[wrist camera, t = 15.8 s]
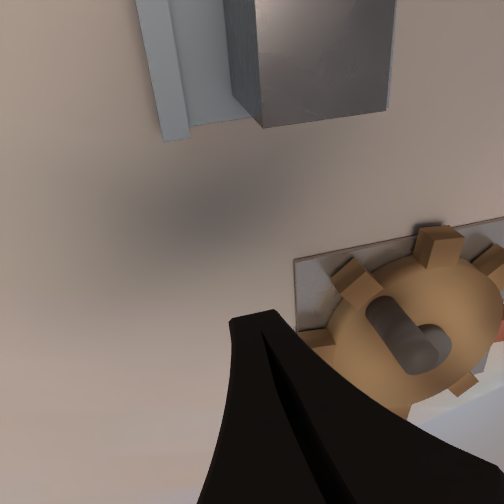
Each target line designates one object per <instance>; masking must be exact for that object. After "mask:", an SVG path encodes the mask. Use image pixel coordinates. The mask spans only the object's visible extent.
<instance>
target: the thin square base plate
mask: <svg viewBox="0 0 504 504" xmlns="http://www.w3.org/2000/svg"><path fill="white" fill-rule="evenodd" d="M453 229H455V230H456V231H457V232H459V233H460V234H461V235H463V236H464V237H465V240H464V243H463V246H462V249H461V252H460V255H459V257H461V258H464V259H465V260H467V261H468V262H470V263H472V262H473V261H475V260H476V259H477V258H478V257H480V256H481V255H482V254H483V253H484V252H486V251H487V250H488V249H489V248H491V247H492V246H493V245H494V244H496V243H497V244H498V245H499V246H501V247H502V248H504V217H502V218H497V219H492V220H487V221H483V222H478V223H473V224H468V225H463V226H458V227H453ZM417 236H418V235H414V236H409V237H404V238H399V239H394V240H389V241H384V242H379V243H374V244H369V245H364V246H359V247H355V248H350V249H345V250H340V251H335V252H330V253H325V254H320V255H315V256H310V257H305V258H300V259H295V260H294V277H295V300H296V323H297V335H298V333H299V332H304V331H312V330H319V329H326V328H327V325H328V322H329V320H330V318H331V316H332V314H333V312H334V311H335V309H336V308H337V306H338V305H339V303H340V302H341V301H342V299H343V297H342V296H341V295H340V294H339V293H338V291H337V290H336V288H335V287H334V285H333V284H332V282H331V281H330V278H332V277H333V276H334V275H335V274H336V273H337V272H338V271H340V270H341V269H342V268H343V267H344V266H345V265H346V264H347V263H349V262H350V261H351V260H352V259H353V258H354V257H355V258H356V259H357V260H358V261H359V262H360V263H361V264H362V265H363V266H364V267H365V268H366V269H367V270H368V271H369V272H370V273H373V272H374V271H376V270H377V269H379V268H381V267H383V266H385V265H387V264H389V263H391V262H393V261H396V260H398V259H401V258H403V257H407V256H411V255H413V252H414V248H415V244H416V240H417ZM500 294H501V297H502V301H504V289H503V290H502V291H500ZM489 350H490V348H489ZM489 350H488V351H487V353H486V354H485V355H484V357H483V358H482V359H481V360H480V361H479V362H478V364H477V365H476V366H475V367H474V368H473V369H472V370H471V371H470V372H471V373H472V374H473V375H474V374H478V373H481V372H483V371H484V367H485V364H486V360H487V357H488V353H489Z"/></svg>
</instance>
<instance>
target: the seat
mask: <svg viewBox="0 0 504 504" xmlns="http://www.w3.org/2000/svg"><path fill="white" fill-rule="evenodd" d="M135 1H136V6H137V11H138V16H139V21H140V26H141V31H142V36H143V41H144V46H145V51H146V56H147V61H148V66H149V71H150V76H151V81H152V86H153V91H154V96H155V101H156V106H157V111H158V116H159V121H160V126H161V131H162V136H163V141H164V142H169V141H176V140H182V139H189V138H190V132H189V127H190V126H197V125H204V124H210V123H217V122H223V121H230V120H237V119H243V118H250V117H252V116H251V115H250V114H249V113H248V112H247V111H246V110H245V109H244V108H243V107H242V106H241V104H240V103H239V102H238V101H237V100H236V99H235V98H234V97H233V96H232V89H231V79H230V68H229V58H228V48H227V38H226V28H225V17H224V7H223V0H135ZM396 6H397V0H396V2H395V14H394V25H393V37H392V48H391V60H390V72H389V83H388V95H387V106H386V108H388V106H389V94H390V81H391V68H392V56H393V43H394V31H395V18H396Z"/></svg>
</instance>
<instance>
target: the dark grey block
mask: <svg viewBox="0 0 504 504" xmlns="http://www.w3.org/2000/svg"><path fill="white" fill-rule="evenodd" d="M395 2H396V0H223V7H224V17H225V28H226V38H227V48H228V58H229V68H230V79H231V89H232V96H233V97H234V98H235V99H236V100H237V101H238V102H239V103H240V104H241V106H242V107H243V108H244V109H245V110H246V111H247V112H248V113H249V114H250V115H251V116H252V117H253V118H254V119H255V120H256V122H257V123H258V124H259V125H260V126H261V127H262V128H270V127H277V126H284V125H291V124H298V123H304V122H311V121H318V120H325V119H332V118H339V117H346V116H353V115H360V114H367V113H374V112H381V111H386V106H387V95H388V83H389V72H390V60H391V48H392V37H393V25H394V14H395Z"/></svg>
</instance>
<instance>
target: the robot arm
mask: <svg viewBox="0 0 504 504" xmlns="http://www.w3.org/2000/svg"><path fill="white" fill-rule="evenodd" d="M229 329H230V335H231V343H232V348H231V367H230V378H229V385H228V392H227V398H226V405H225V410H224V415H223V419H222V424H221V428H220V432H219V436H218V440H217V443H216V447H215V451H214V454H213V458H212V461H211V464H210V467H209V471H208V474H207V477H206V479H205V482H204V485H203V488H202V491H201V493H200V496H199V499H198V502H197V504H504V473H503V472H502V471H501V470H500V469H499V467H498V466H496V465H494V464H492V463H490V462H488V461H485V460H483V459H481V458H479V457H476V456H474V455H472V454H470V453H468V452H465V451H463V450H461V449H459V448H456V447H454V446H452V445H450V444H448V443H446V442H444V441H442V440H440V439H438V438H437V437H435V436H433V435H431V434H429V433H427V432H425V431H423V430H422V429H420V428H418V427H417V426H415V425H413V424H412V423H410V422H408V421H407V420H405V419H403V418H402V417H400V416H398V415H396V414H395V413H393V412H391V411H390V410H388V409H387V408H385V407H384V406H382V405H381V404H379V403H378V402H376V401H375V400H373V399H372V398H371V397H369V396H368V395H366V394H365V393H364V392H362V391H361V390H359V389H358V388H357V387H356V386H354V385H353V384H352V383H350V382H349V381H348V380H347V379H345V378H344V377H343V376H342V375H340V374H339V373H338V372H337V371H336V370H334V369H333V368H332V367H331V366H330V365H329V364H328V363H326V362H325V361H324V360H323V359H322V358H321V357H320V356H319V355H318V354H317V353H316V352H315V351H313V350H312V349H311V348H310V347H309V346H308V345H307V344H306V343H305V342H304V341H303V340H302V339H301V338H300V337H299V336H298V335H297V334H296V332H295V331H294V330H293V329H292V328H291V327H290V326H289V325H288V324H287V323H286V321H285V320H284V319H283V318H282V317H281V316H280V314H279V313H278V312H277V311H276V310H274V309H272V310H267V311H263V312H258V313H254V314H249V315H245V316H240V317H236V318H232V319H231V320H230V321H229Z"/></svg>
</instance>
